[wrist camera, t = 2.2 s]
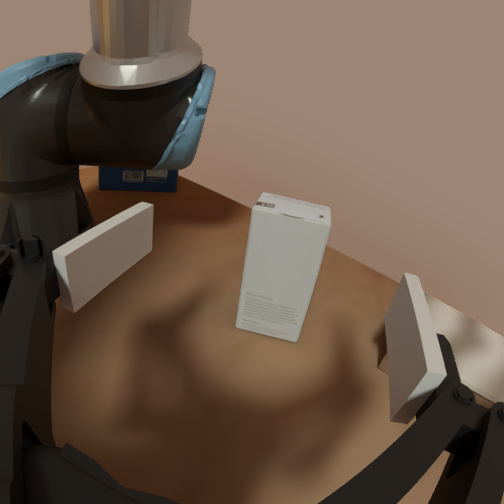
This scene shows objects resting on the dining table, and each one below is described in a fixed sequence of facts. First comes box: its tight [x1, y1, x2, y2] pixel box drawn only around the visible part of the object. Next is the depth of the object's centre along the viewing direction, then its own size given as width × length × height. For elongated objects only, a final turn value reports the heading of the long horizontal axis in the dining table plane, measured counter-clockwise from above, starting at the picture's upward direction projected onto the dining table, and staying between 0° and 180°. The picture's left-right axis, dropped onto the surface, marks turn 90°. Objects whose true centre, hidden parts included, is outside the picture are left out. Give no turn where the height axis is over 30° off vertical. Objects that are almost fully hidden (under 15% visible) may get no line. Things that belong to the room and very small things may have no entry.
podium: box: [378, 293, 504, 409], centre depth 26 cm, size 13×11×4 cm
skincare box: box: [235, 192, 331, 342], centre depth 27 cm, size 6×4×12 cm
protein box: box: [98, 166, 178, 192], centre depth 56 cm, size 10×15×16 cm
